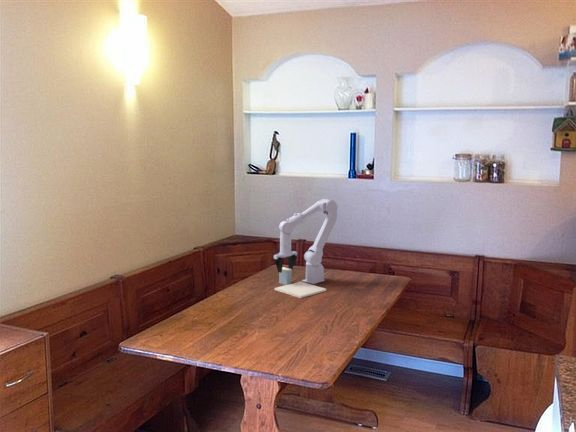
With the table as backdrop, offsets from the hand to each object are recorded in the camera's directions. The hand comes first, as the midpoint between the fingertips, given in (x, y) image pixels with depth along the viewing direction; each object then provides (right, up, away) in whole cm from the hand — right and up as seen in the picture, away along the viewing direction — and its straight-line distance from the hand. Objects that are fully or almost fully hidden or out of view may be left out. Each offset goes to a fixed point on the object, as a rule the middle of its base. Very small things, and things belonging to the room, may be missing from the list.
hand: (285, 271), depth 270 cm
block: (0, -7, +1) cm, 7 cm away
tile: (+8, -8, -11) cm, 16 cm away
